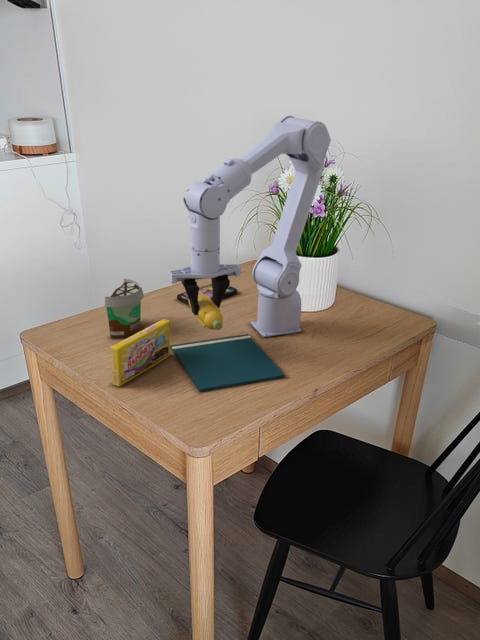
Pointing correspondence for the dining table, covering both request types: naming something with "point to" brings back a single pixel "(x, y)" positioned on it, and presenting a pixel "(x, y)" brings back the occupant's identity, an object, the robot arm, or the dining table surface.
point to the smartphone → (208, 291)
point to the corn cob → (208, 312)
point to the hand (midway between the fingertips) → (205, 312)
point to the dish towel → (225, 362)
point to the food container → (124, 309)
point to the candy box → (140, 352)
